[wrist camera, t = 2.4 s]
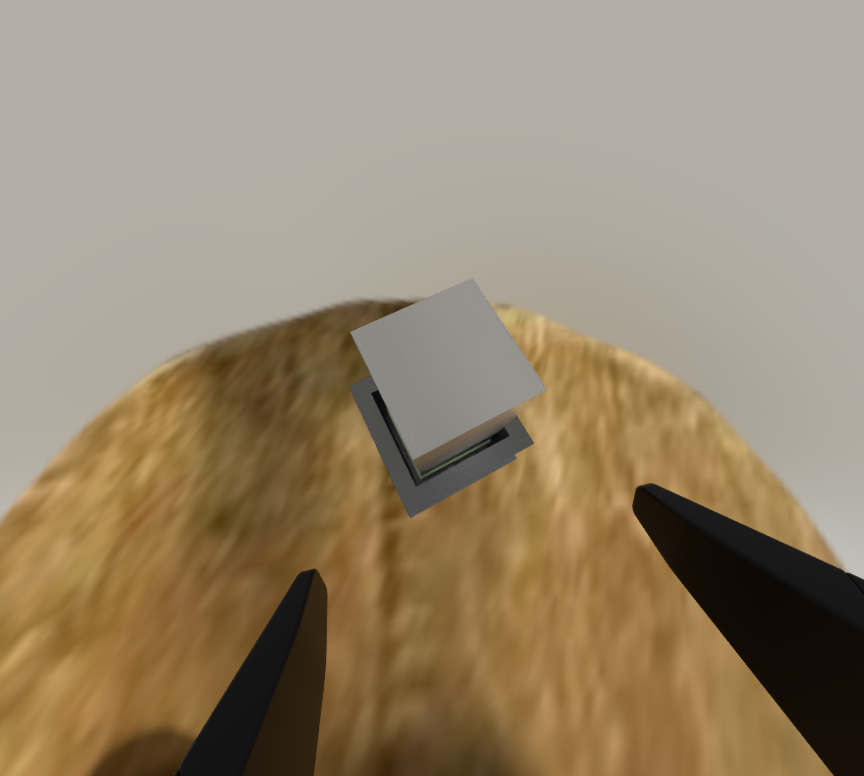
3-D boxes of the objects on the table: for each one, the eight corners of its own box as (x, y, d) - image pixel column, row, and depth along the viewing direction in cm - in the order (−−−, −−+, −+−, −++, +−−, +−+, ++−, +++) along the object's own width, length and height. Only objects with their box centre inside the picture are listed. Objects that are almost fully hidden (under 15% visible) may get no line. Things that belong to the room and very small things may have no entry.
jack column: (483, 447, 19) (552, 390, 8) (421, 480, 18) (411, 465, 8) (450, 388, 20) (473, 274, 9) (390, 418, 19) (345, 330, 9)
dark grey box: (508, 461, 21) (546, 447, 14) (412, 515, 20) (403, 527, 13) (456, 372, 23) (467, 322, 16) (366, 416, 22) (337, 383, 15)
